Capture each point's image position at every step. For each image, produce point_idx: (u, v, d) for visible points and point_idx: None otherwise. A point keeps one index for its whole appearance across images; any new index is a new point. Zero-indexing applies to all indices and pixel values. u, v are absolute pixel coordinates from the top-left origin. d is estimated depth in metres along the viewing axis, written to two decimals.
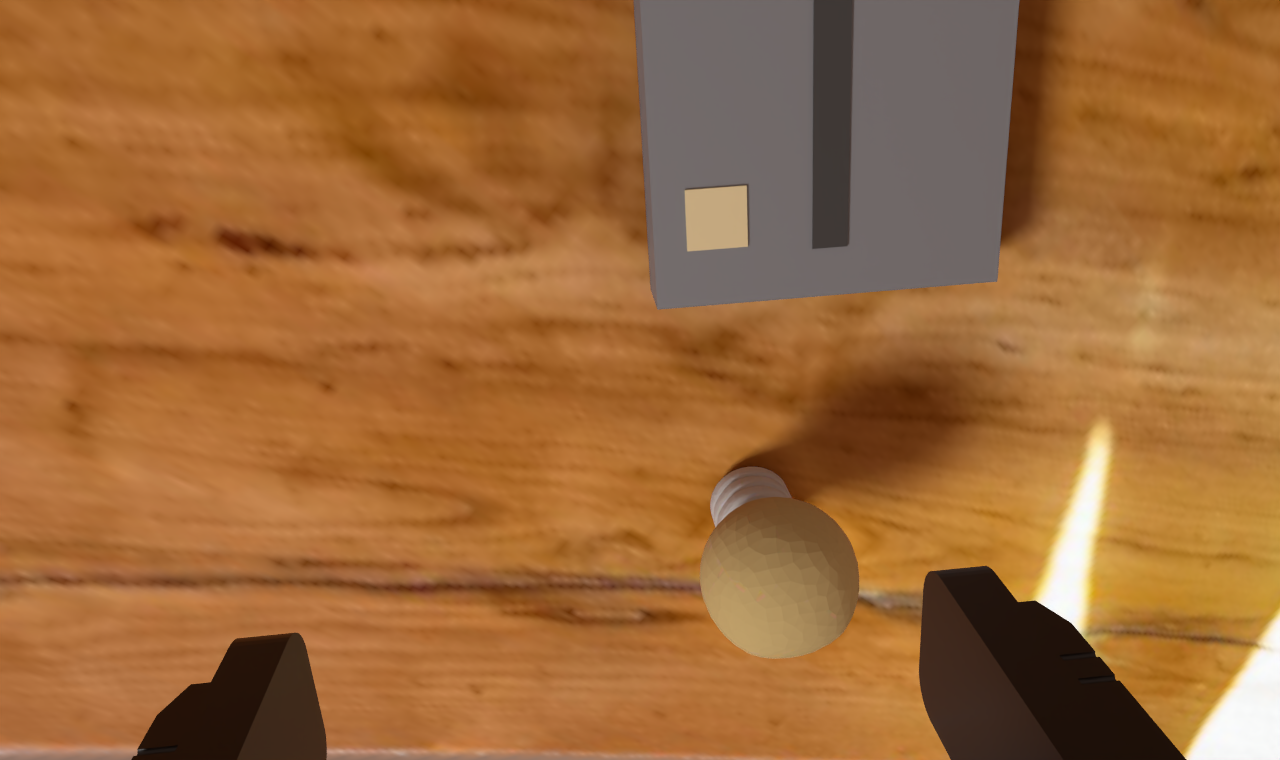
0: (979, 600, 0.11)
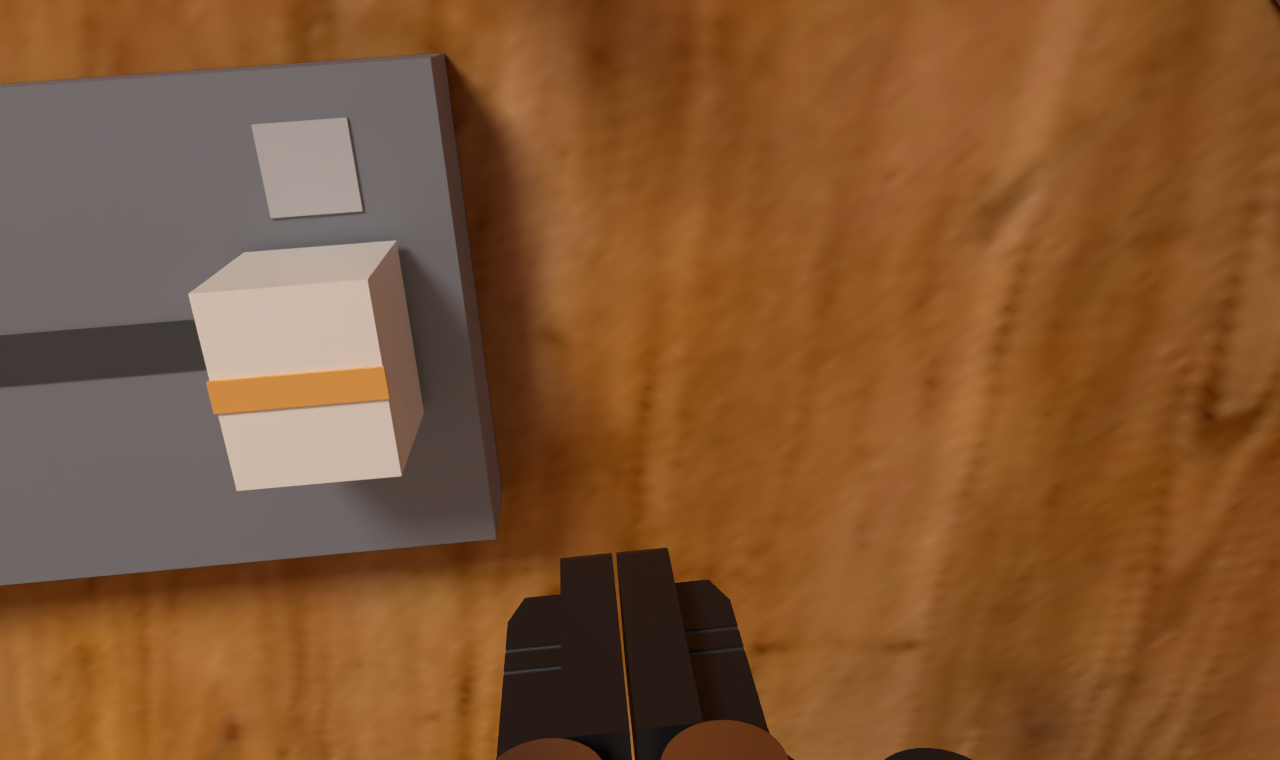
0: (640, 578, 0.12)
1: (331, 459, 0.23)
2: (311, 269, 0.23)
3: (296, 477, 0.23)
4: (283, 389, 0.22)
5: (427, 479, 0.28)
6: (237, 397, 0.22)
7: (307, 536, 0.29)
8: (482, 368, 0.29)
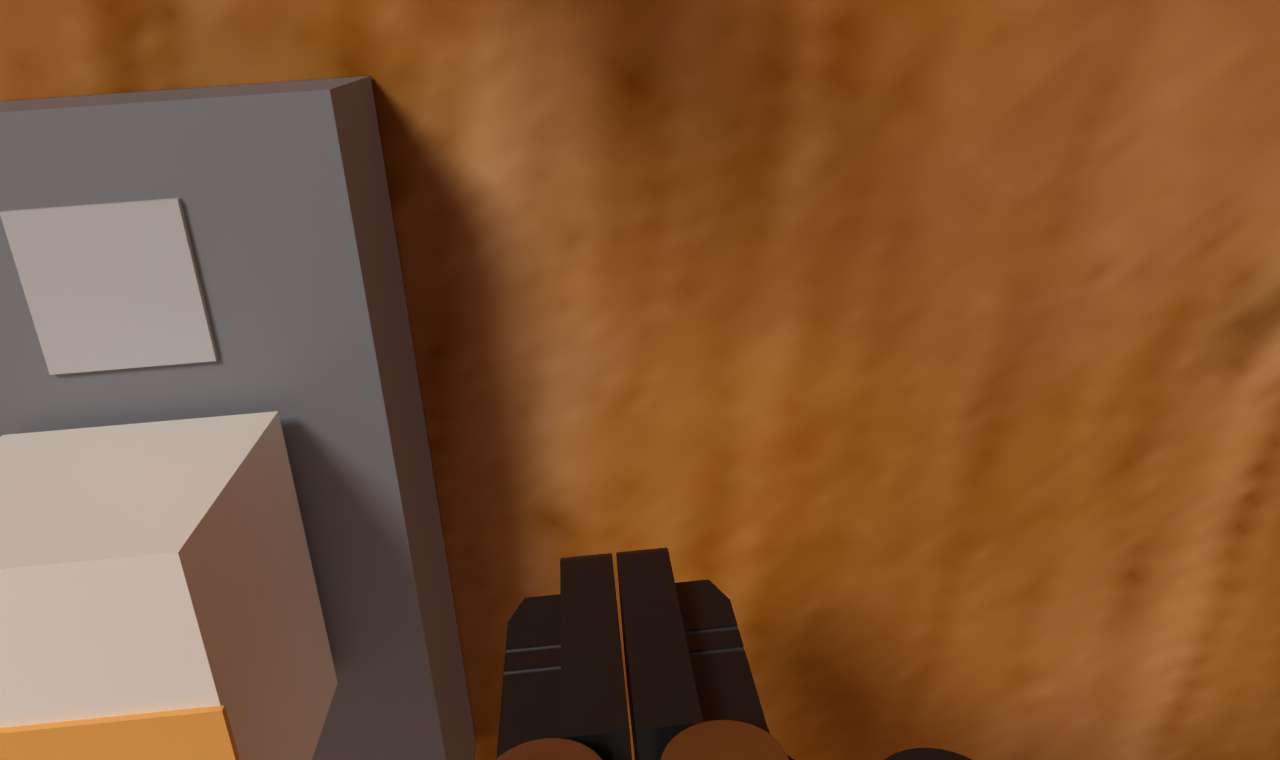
0: (640, 578, 0.12)
1: None
2: (88, 503, 0.12)
3: None
4: (20, 755, 0.11)
5: None
6: None
7: None
8: (441, 578, 0.18)
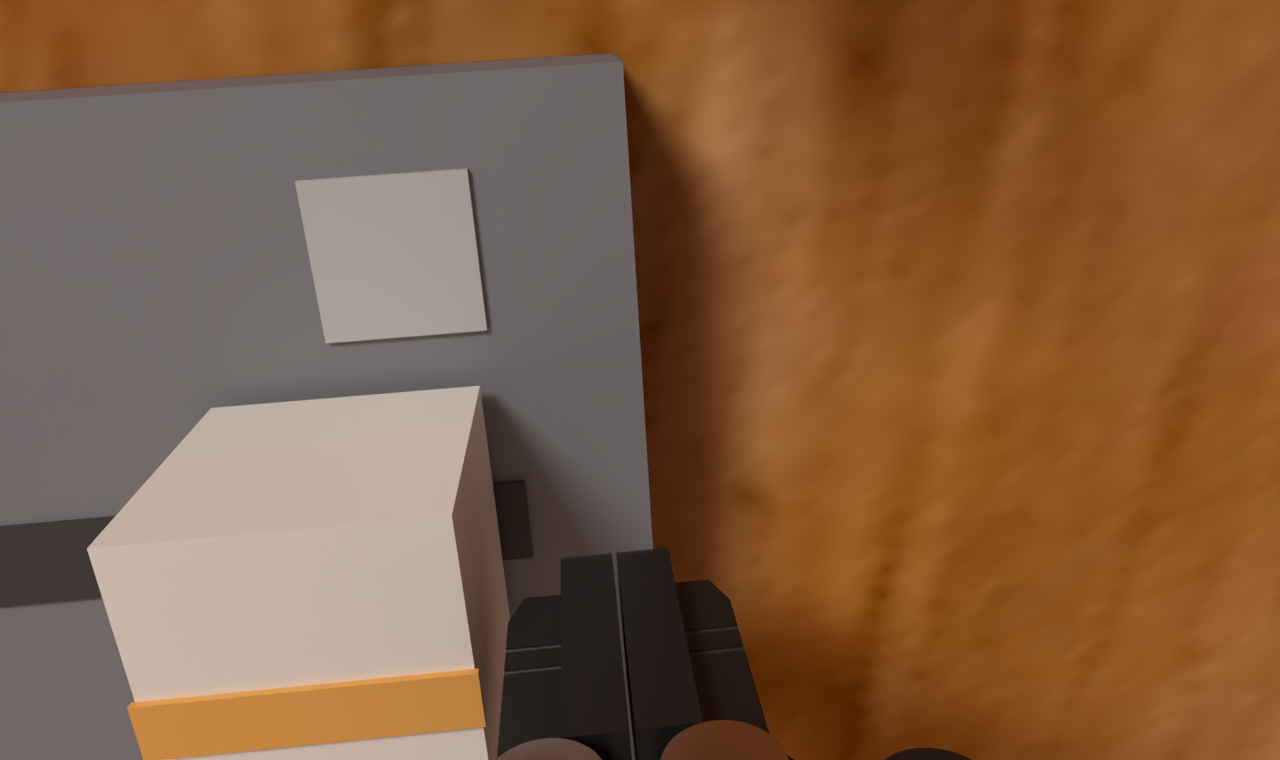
0: (640, 578, 0.12)
1: None
2: (335, 471, 0.12)
3: None
4: (280, 717, 0.11)
5: None
6: (189, 732, 0.11)
7: None
8: None
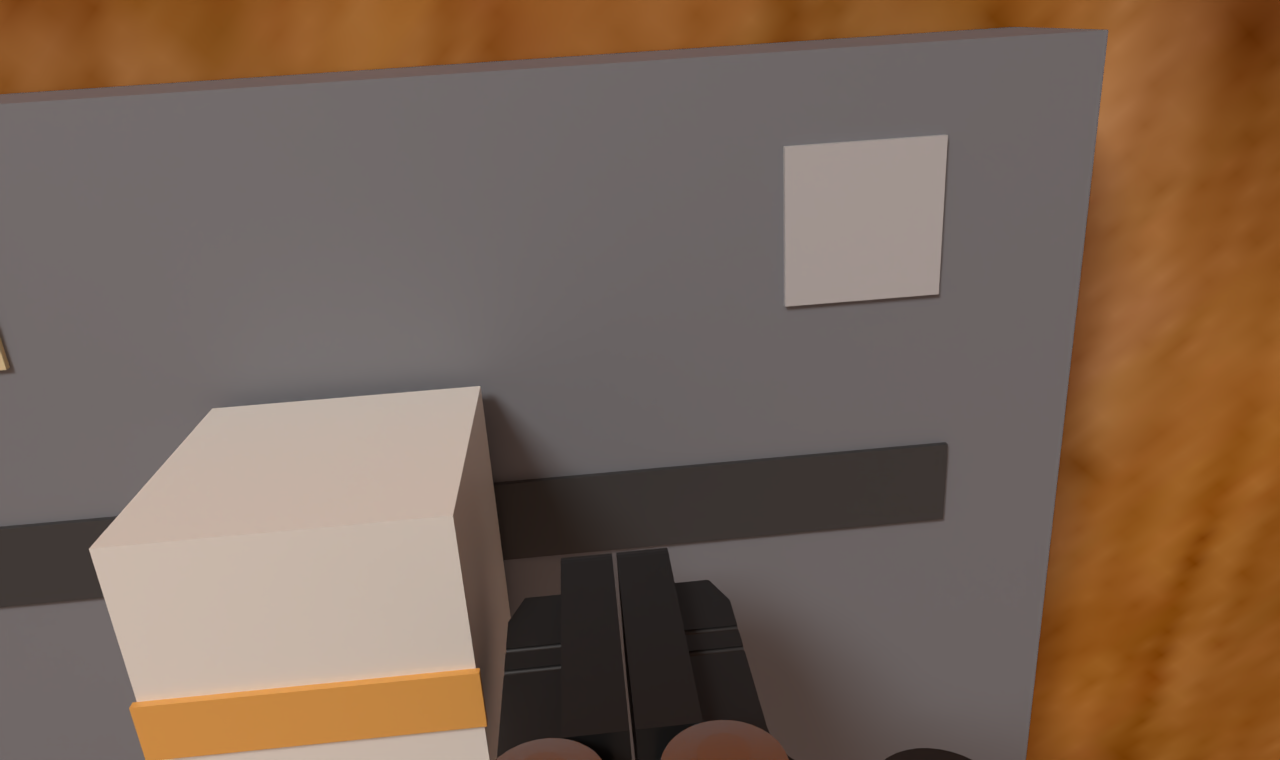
0: (640, 578, 0.12)
1: None
2: (336, 471, 0.12)
3: None
4: (280, 717, 0.11)
5: (939, 706, 0.18)
6: (191, 732, 0.11)
7: None
8: None
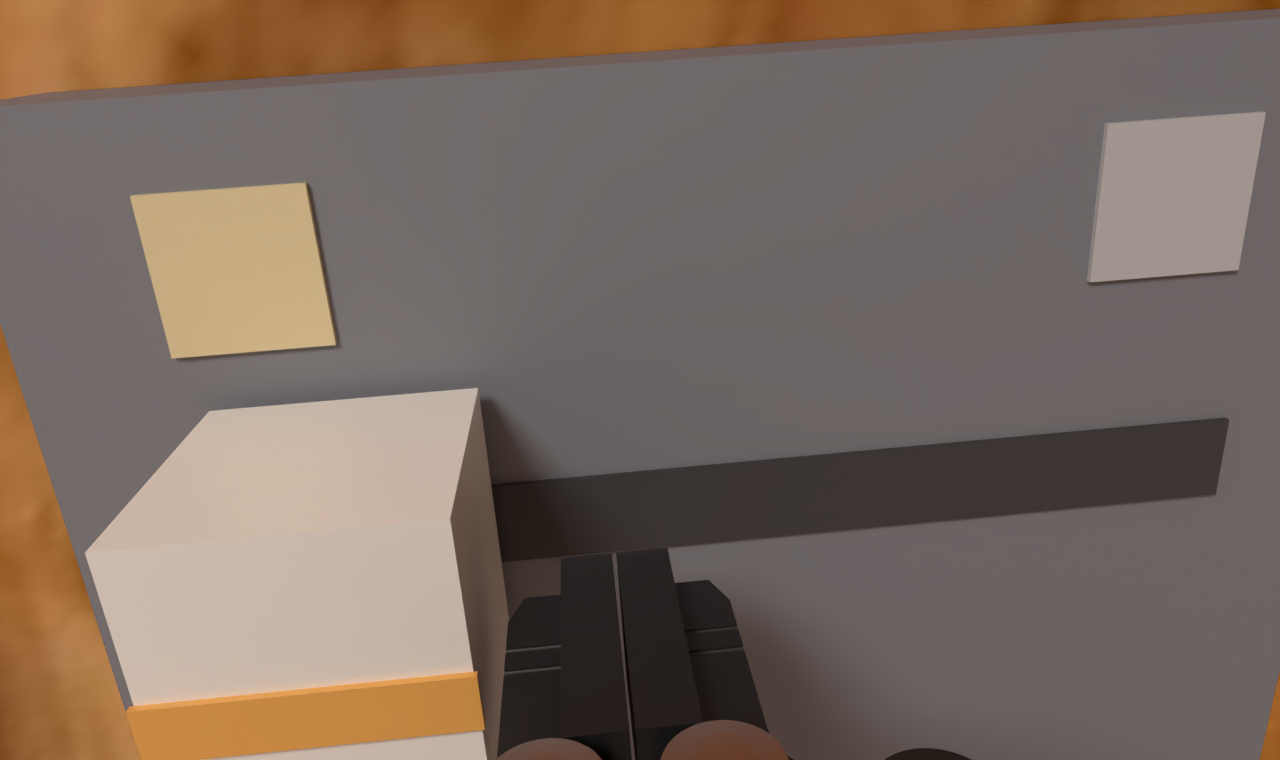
0: (640, 578, 0.12)
1: None
2: (333, 474, 0.12)
3: None
4: (278, 720, 0.11)
5: (1188, 680, 0.18)
6: (189, 736, 0.11)
7: None
8: None
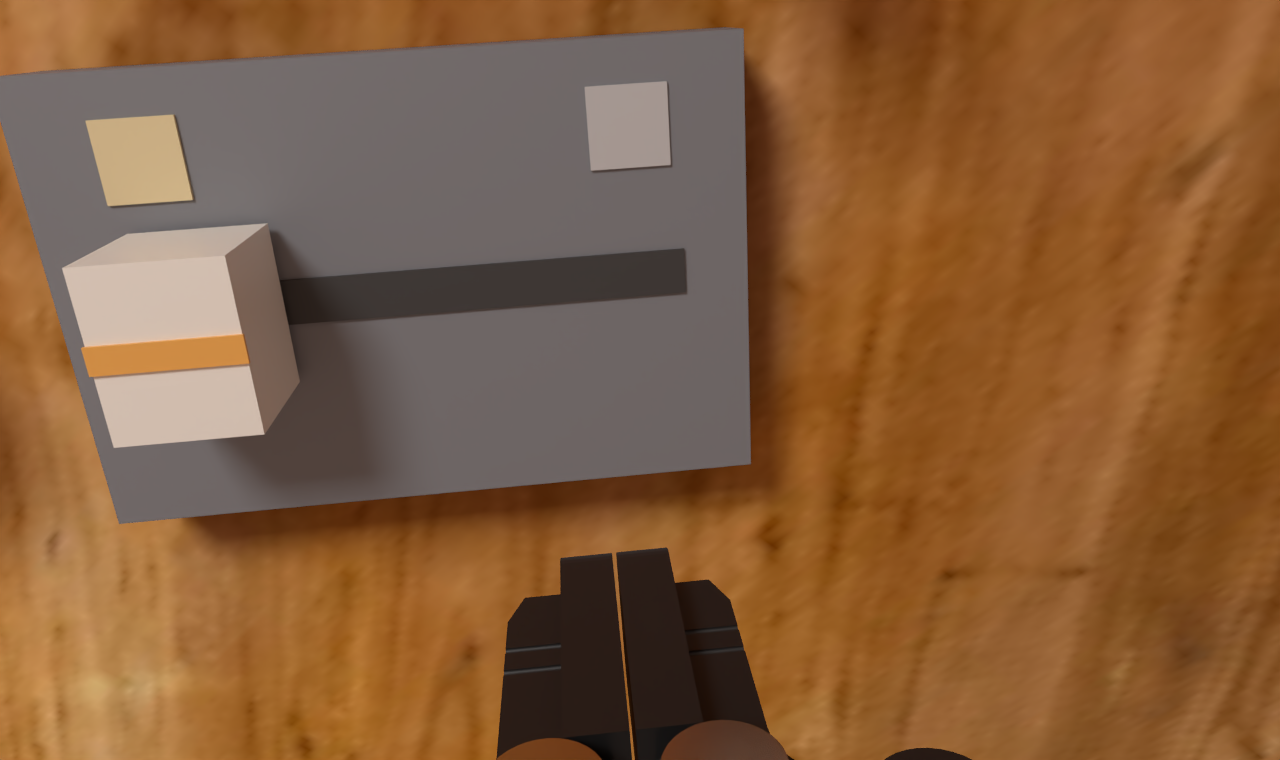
0: (641, 578, 0.12)
1: (198, 418, 0.26)
2: (179, 247, 0.25)
3: (168, 435, 0.26)
4: (151, 355, 0.25)
5: (696, 408, 0.32)
6: (109, 362, 0.25)
7: (586, 461, 0.32)
8: None
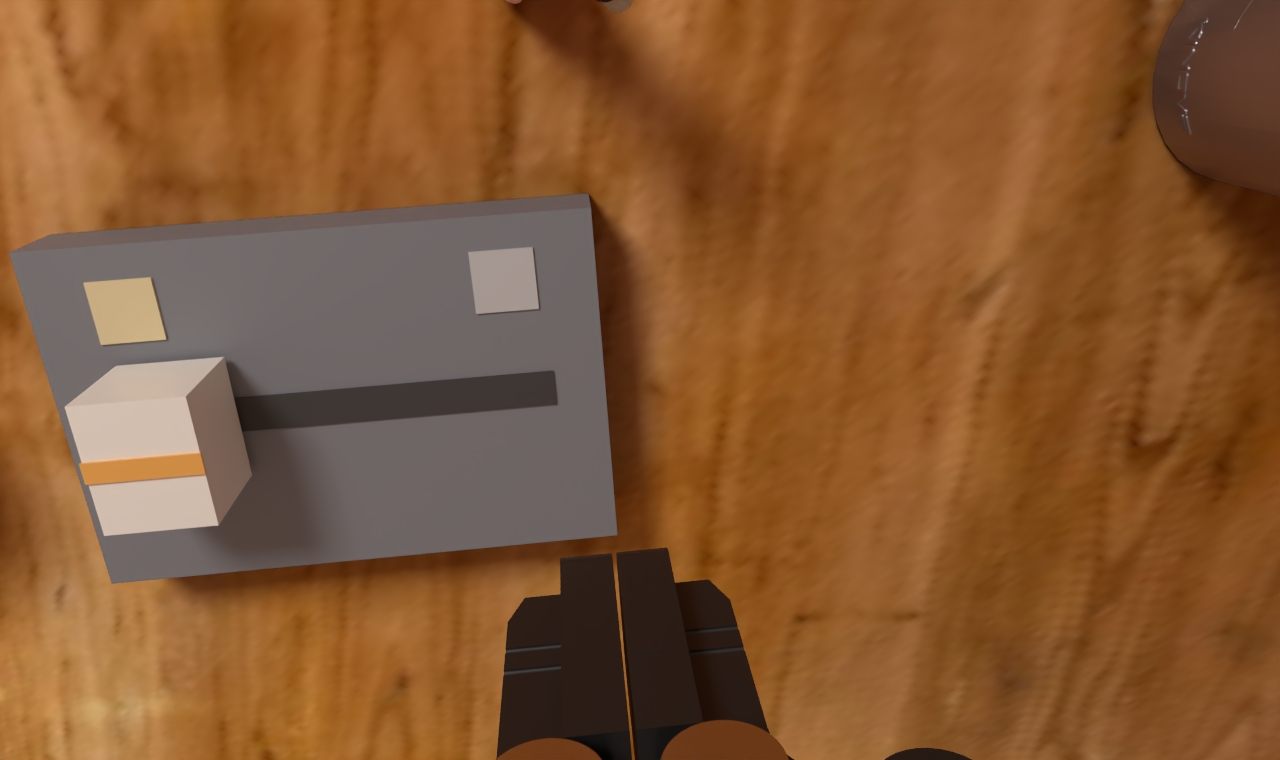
0: (641, 578, 0.12)
1: (168, 514, 0.34)
2: (153, 385, 0.33)
3: (145, 526, 0.34)
4: (131, 469, 0.33)
5: (570, 492, 0.39)
6: (100, 474, 0.33)
7: (483, 533, 0.40)
8: None
